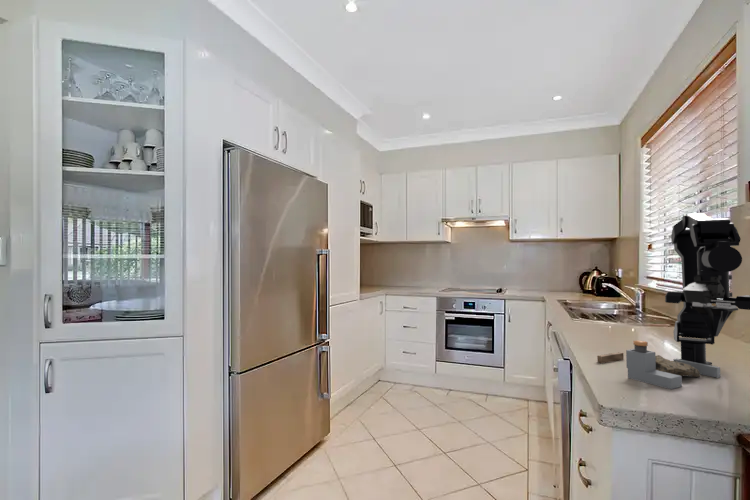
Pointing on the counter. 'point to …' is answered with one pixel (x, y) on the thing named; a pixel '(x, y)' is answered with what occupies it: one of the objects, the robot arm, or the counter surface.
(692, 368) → the rock
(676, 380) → the bay
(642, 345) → the plunger
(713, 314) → the robot arm
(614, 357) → the bar
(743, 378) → the counter surface
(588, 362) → the counter surface
